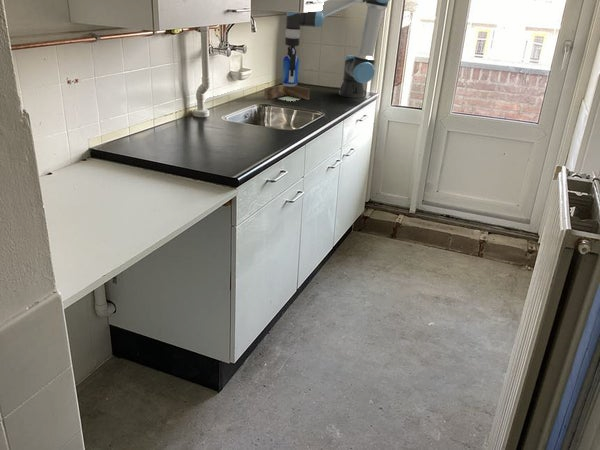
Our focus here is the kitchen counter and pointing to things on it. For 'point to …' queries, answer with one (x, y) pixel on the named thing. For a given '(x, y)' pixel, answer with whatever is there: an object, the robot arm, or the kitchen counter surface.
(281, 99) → the pad
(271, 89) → the corner walls
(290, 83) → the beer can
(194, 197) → the kitchen counter surface
